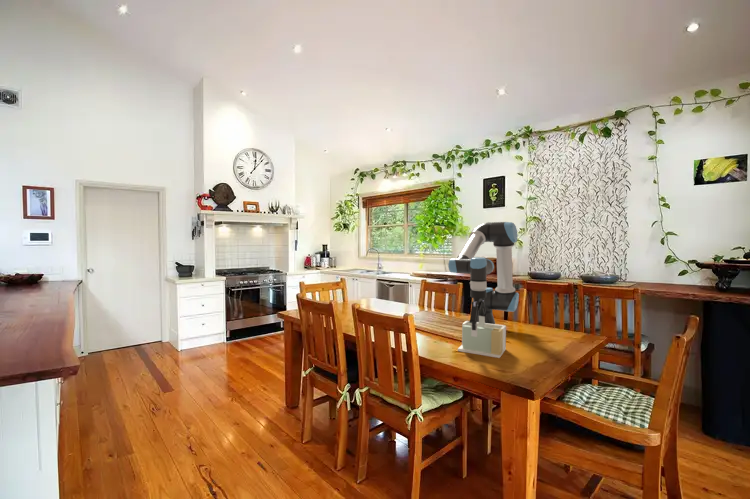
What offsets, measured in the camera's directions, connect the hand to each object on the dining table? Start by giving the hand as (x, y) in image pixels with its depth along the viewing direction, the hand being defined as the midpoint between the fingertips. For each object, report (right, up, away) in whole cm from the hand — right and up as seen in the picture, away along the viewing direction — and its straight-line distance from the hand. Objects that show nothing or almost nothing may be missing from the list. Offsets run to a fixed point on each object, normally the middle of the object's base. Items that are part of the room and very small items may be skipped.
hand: (478, 332), depth 179 cm
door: (+2, -8, -1) cm, 9 cm away
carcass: (+3, -9, +3) cm, 10 cm away
